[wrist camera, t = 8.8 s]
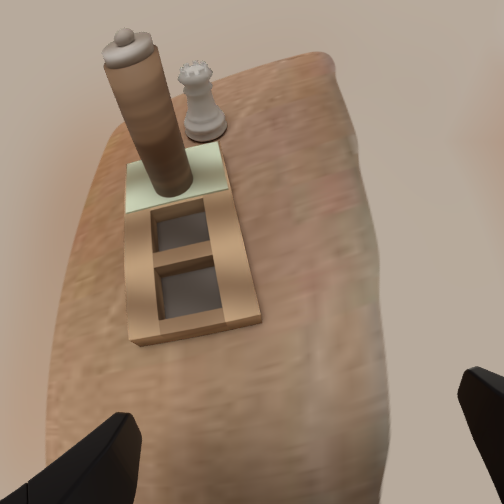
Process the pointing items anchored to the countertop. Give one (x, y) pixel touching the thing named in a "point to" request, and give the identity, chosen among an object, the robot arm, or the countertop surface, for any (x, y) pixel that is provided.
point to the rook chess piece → (201, 104)
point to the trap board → (185, 255)
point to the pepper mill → (148, 110)
